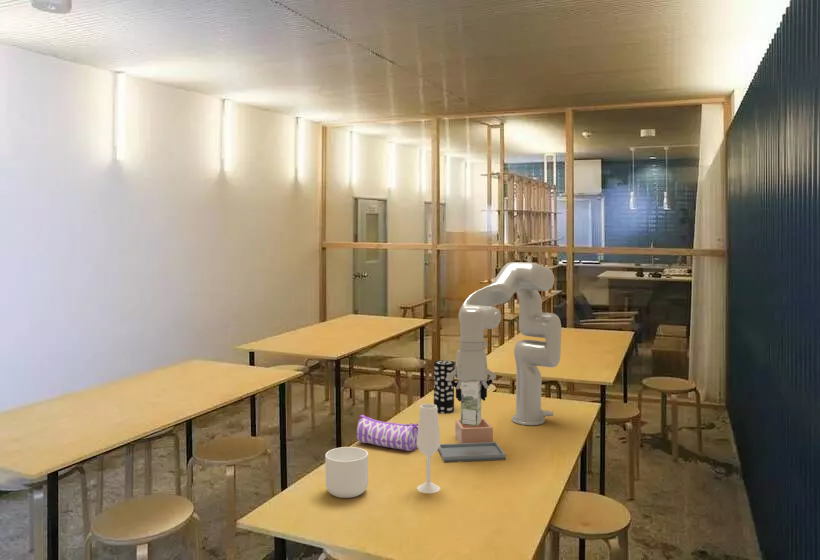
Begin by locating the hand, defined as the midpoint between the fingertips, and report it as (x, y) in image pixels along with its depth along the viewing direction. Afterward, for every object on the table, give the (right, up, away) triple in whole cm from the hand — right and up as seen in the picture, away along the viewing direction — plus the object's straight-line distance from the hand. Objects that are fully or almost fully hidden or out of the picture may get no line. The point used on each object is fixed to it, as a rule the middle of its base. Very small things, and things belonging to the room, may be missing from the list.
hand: (471, 399), depth 209 cm
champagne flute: (-15, -21, -26) cm, 37 cm away
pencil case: (-27, -18, +10) cm, 34 cm away
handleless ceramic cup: (-38, -21, -29) cm, 52 cm away
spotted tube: (-6, -15, +53) cm, 55 cm away
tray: (0, -18, +1) cm, 18 cm away
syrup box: (0, -8, +1) cm, 8 cm away
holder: (+2, -17, +16) cm, 23 cm away
